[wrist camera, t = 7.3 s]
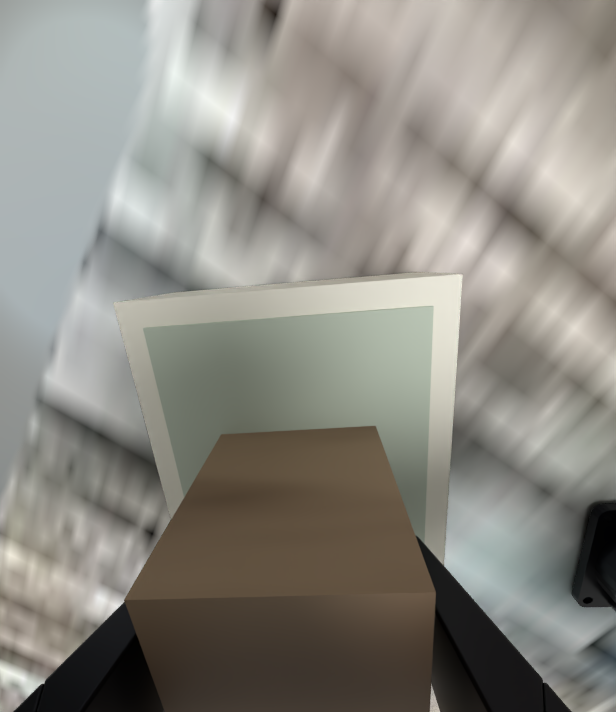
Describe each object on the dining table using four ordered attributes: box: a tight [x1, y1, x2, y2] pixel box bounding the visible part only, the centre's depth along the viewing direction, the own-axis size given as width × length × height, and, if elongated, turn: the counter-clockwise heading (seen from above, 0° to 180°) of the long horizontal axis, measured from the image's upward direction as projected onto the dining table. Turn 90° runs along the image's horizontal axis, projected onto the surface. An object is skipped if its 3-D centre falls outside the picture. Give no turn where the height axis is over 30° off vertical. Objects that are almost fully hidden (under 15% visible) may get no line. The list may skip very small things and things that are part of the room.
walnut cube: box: [124, 426, 436, 712], centre depth 8 cm, size 5×5×5 cm
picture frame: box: [113, 272, 462, 565], centre depth 12 cm, size 14×10×4 cm
